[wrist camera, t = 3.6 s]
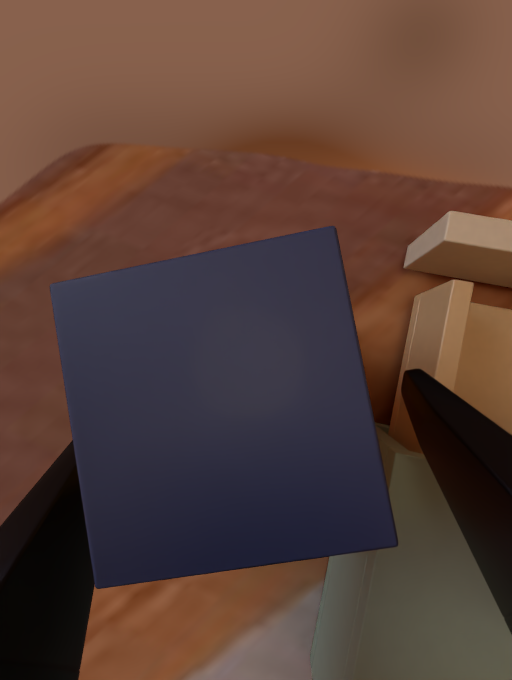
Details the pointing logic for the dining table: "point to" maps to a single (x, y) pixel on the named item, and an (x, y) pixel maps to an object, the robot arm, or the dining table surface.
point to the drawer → (460, 319)
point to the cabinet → (410, 594)
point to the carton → (221, 412)
